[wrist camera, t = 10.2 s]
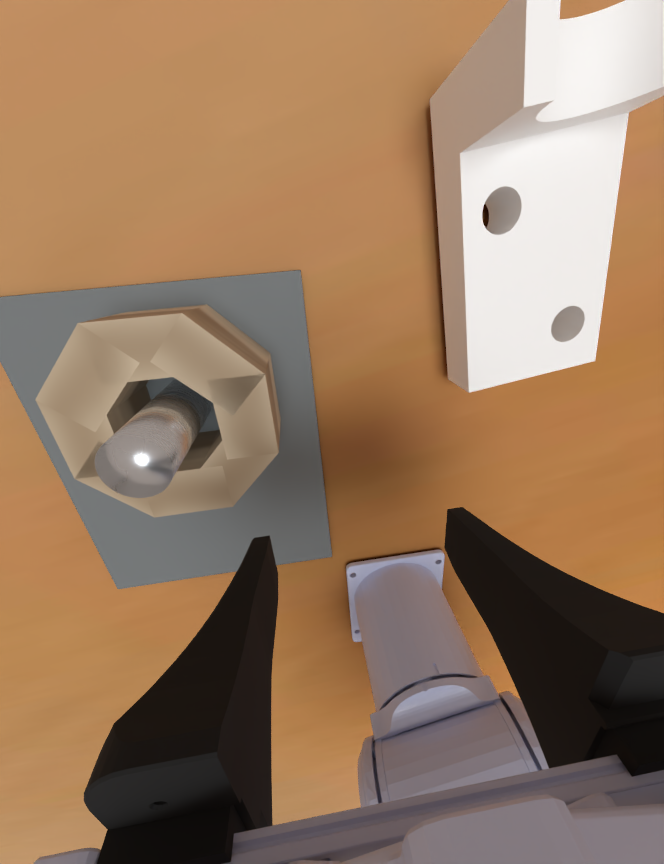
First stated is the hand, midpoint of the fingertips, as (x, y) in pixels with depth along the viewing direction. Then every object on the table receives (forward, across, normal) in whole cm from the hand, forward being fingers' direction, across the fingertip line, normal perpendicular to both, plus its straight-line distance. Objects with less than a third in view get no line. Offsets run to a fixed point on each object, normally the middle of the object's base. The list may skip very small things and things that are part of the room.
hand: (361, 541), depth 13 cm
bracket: (+10, -10, -10) cm, 17 cm away
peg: (+9, +8, -4) cm, 13 cm away
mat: (+9, +9, 0) cm, 13 cm away
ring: (+9, +8, -4) cm, 13 cm away
